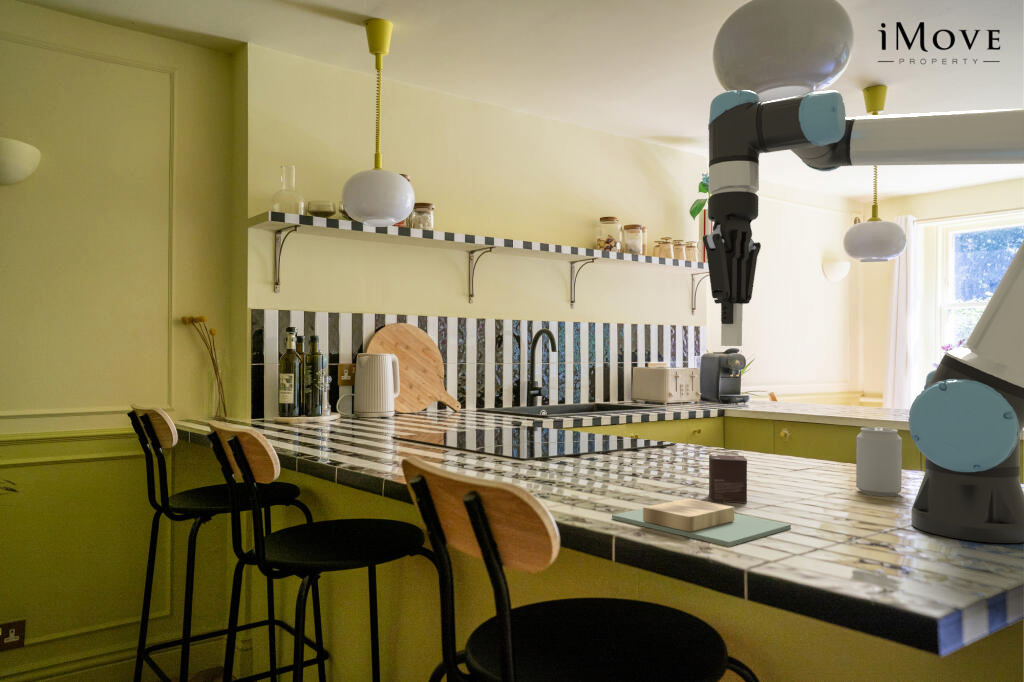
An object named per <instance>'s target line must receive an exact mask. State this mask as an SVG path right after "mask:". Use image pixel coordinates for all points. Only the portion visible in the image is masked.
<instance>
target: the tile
mask: <svg viewBox="0 0 1024 682" xmlns="http://www.w3.org/2000/svg"><path fill="white" fill-rule="evenodd" d="M642 509H643V521H644V522H648V523H652V524H656V525H661V526H665V527H669V528H674V529H678V530H682V531H687V532H691V531H695V530H699V529H703V528H707V527H711V526H715V525H719V524H723V523H727V522H731V521H734V513H735V506H733V505H732V506H731V505H726V504H721V503H717V502H716V503H715V502H712V501H711V502H709V501H703V500H698V499H694V498H689V497H688V498H684V499H683V498H682V499H678V500H673V501H669V502H662V503H656V504H653V505H649V506H648V505H647V506H643V507H642Z"/></svg>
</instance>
